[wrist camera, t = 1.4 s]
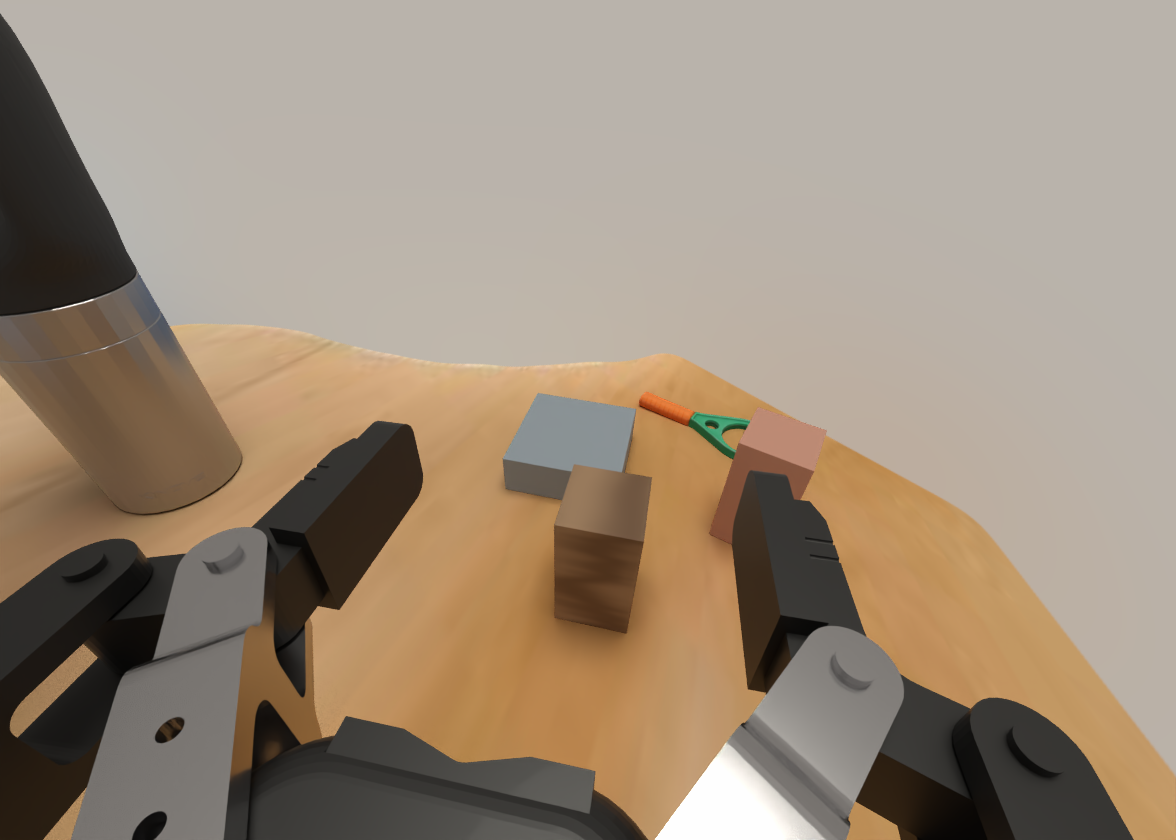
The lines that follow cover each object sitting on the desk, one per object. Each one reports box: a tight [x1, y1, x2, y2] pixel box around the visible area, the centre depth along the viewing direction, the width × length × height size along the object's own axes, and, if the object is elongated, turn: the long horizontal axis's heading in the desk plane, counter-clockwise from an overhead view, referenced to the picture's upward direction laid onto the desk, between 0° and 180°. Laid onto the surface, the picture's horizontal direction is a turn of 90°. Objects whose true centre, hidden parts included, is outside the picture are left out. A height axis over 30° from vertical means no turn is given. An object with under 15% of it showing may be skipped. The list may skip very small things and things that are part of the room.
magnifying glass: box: [639, 392, 750, 459], centre depth 49 cm, size 15×6×2 cm, turn 57°
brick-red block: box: [709, 407, 827, 544], centre depth 36 cm, size 5×5×10 cm
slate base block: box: [503, 393, 636, 500], centre depth 43 cm, size 10×10×4 cm
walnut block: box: [554, 464, 652, 633], centre depth 30 cm, size 5×5×10 cm
